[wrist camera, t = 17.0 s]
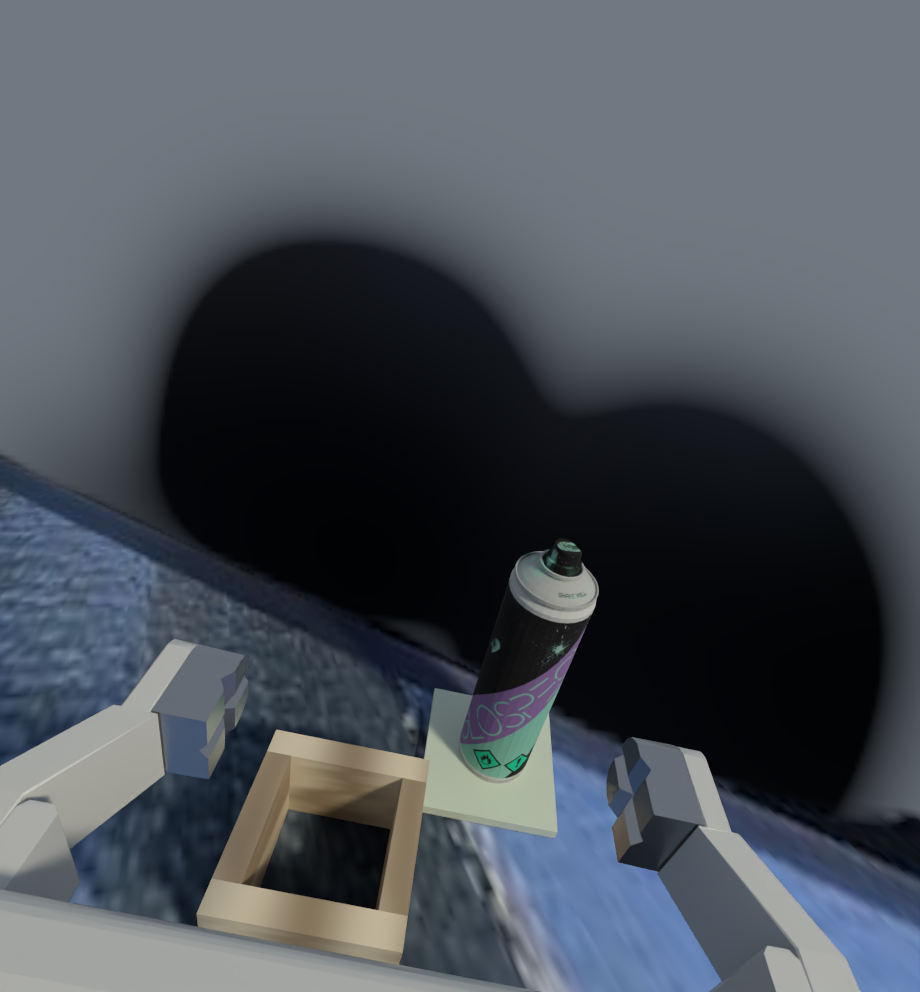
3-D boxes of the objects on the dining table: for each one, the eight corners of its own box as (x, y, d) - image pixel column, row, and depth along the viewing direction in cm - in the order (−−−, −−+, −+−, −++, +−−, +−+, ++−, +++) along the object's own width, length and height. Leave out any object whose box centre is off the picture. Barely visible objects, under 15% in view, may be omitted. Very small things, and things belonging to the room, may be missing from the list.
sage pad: (415, 811, 37) (417, 804, 37) (433, 694, 46) (434, 687, 45) (554, 838, 37) (557, 832, 37) (545, 717, 46) (548, 711, 46)
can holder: (202, 964, 28) (196, 913, 25) (274, 783, 37) (276, 729, 34) (386, 998, 29) (402, 952, 26) (415, 811, 37) (429, 760, 34)
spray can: (444, 751, 41) (506, 542, 31) (482, 707, 45) (548, 510, 35) (504, 799, 38) (593, 590, 28) (538, 747, 42) (626, 549, 32)
